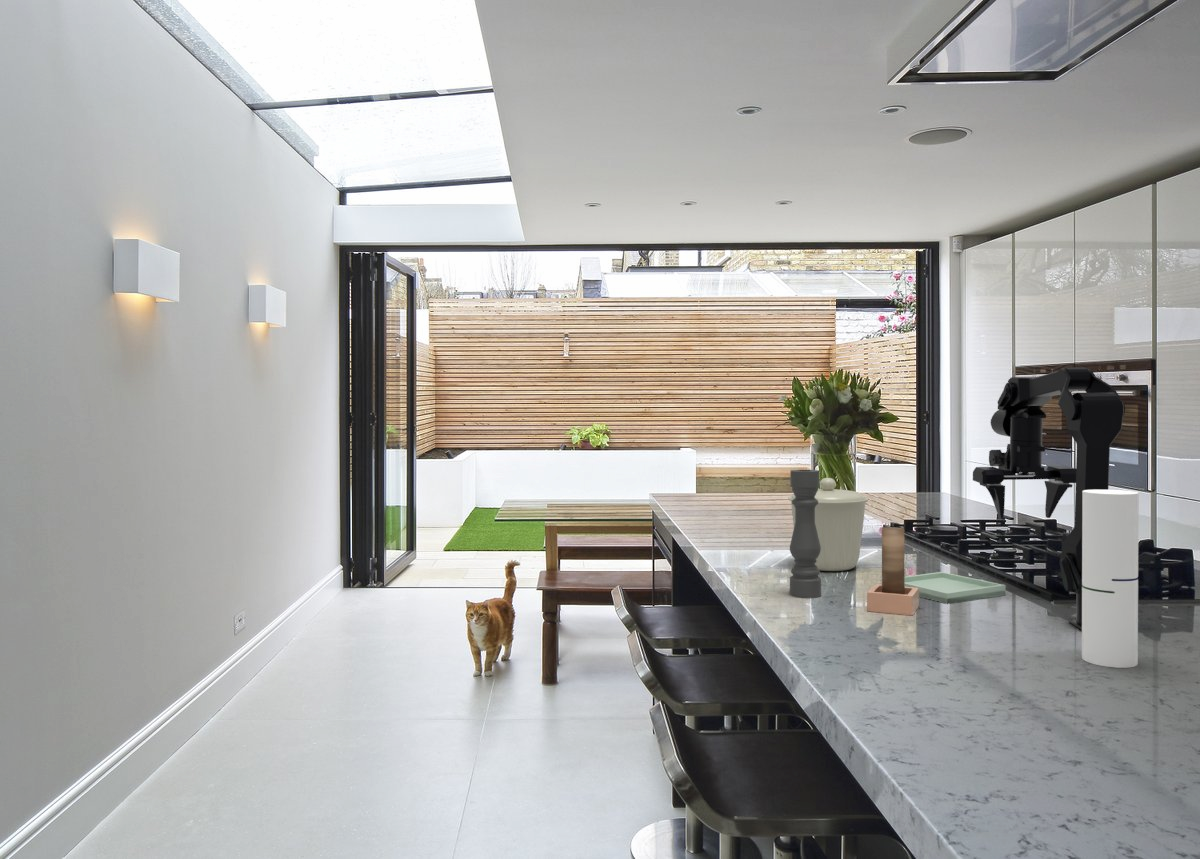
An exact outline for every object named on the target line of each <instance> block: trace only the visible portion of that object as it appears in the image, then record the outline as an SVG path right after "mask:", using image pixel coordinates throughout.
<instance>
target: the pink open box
mask: <svg viewBox="0 0 1200 859" xmlns="http://www.w3.org/2000/svg"><path fill="white" fill-rule="evenodd" d="M919 607H920V597H919V588H914V587H905V594H894V593H882V584H874V585H873V586H872V587H870V589H869V590H868V591H867V592H866V611H867V612H871V613H880V614H881V613H882V614H883V613H884V614H892V615H902V616H903V615H904V616H913V615H915V612H916V611H917V610H918V609H919Z"/></svg>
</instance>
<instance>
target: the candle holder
mask: <svg viewBox="0 0 1200 859" xmlns="http://www.w3.org/2000/svg"><path fill="white" fill-rule="evenodd" d="M790 487H791V491H792V493H793V494H794V495H795V499H793V500H792V504H793V505H794V507H795V526H794V525H793V531H792V536H791V539H790V544H789V552H790V554H791V556H792V557H793V561H794V563H795V564H793V565H794V566H793V567H792V568H791V570H790V573H791V574H792V575H791V576H790V577H789V595H790V596H791V597H796V598H802V599H811V598H812V599H814V598H820V597H822V578H821V577H820V576H819V575H820V572H821V571H820V570H819V569H818V568H817V566H816V565H815V563H816V561H817V560H816V559H817V558H818V556H819V554H820V551H821V546H820V542H819V538H818V533H817V529H816V525H815V507H816V505H817V504H818V500H817V499H815V495H816V493H817V491H818V489H819V488H820V470H819V469H791V470H790Z"/></svg>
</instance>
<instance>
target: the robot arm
mask: <svg viewBox="0 0 1200 859" xmlns="http://www.w3.org/2000/svg"><path fill="white" fill-rule="evenodd" d="M1077 391H1085V392H1077ZM1072 392H1076V393H1073V394H1071V393H1072ZM1054 396H1059V399H1058V402H1057V405H1058V407H1059V408H1060V410H1061V412H1062V413H1063V414H1064V416H1065V418H1066V420H1065V421H1066V430H1067V431H1068V433H1069V434H1070V436H1071V437H1072V438H1073V440H1074V442H1075V443H1076V459H1075V460H1076V462H1075V463H1076V464H1075V466H1076V467H1075V468H1074V467H1071V466H1067V465H1047V467H1046V469H1045V466H1042V465H1043V464H1042V463H1043V462H1042V460H1043V457H1042V456H1043V453H1044V452H1045V451H1046V446H1045V445H1043V419H1046V418H1047V414H1046V413H1045V412H1044V410H1042V408H1043V407H1044V405H1046V404H1048V403H1050V402H1051V401H1052V397H1054ZM1125 412H1126V405H1125V402H1124V400H1123V399H1122V398H1121V396H1120V394H1119V393H1118V391H1117V390H1116V389H1115V388H1114V387H1113V386H1112V385H1111V384H1109V383H1107V382H1105V381H1104V380H1102V379H1101V378H1099V377H1097V376H1096V375H1095V373H1094V371H1093V370H1092V369H1090V368H1087V367H1062V368H1060V369H1058V370H1057V371H1052V372H1050V373H1047V374H1043V375H1039V376H1011V377H1010V378H1009V379H1008V380H1007V382H1006V383H1005V385H1004V387H1003V390H1002V392H1001V394H1000V396H999V398H998V400H997V411H995V412H994V413H993V415H992V416H991V418H990V426H991V429H992V430H993V432H994V433H996V434H997V435H998V436H999V435H1000V436H1005V437H1008V438H1009V443H1007V445H1006V451H1005V452H1002V449H991V450H989V451H988V462H989V466H976V467H975V468H974V469H973V471H972V481H974V482H977V483H979V485H980V486H983V487H984V488H986V489H987V491H988V493H989V495H990V497H991V499H992V501H993V504H994V507H995V510H996V513H997V516H998V519H1004V515H1005V499H1006V498H1005V497H1006V485H1004V484H1002V482H1003V481H1005V480H1006V481H1007V480H1009V481H1012V480H1015V481H1016V480H1019V481H1020V480H1021V481H1022V480H1044V485H1045V487H1046V488H1045V489H1046V497H1045V506H1044V507H1045V508H1044V509H1045V510H1044V511H1045V513H1044V514H1045V518H1047V519H1050V518H1051V517H1052V515H1053V513H1054V511H1055V510H1056V507H1057V505H1058V504H1059V501H1060V500H1061V499H1062V497H1063V496H1064V494H1065V493H1066V492H1067V490H1068V488H1073V484H1075V493H1074V494H1075V500H1074V501H1075V502H1074V525H1073V526H1074V527H1073V529H1072V530H1071V531H1070V533H1068V534H1063V536H1062V538H1061V553H1060V558H1059V567H1060V574H1061V579H1062V580H1061V581H1062V584H1063V588H1064V589H1065V591H1066V592H1069V593H1073V594H1074V593H1075V594H1076V598H1075V599H1076V604H1075V606H1076V616H1075V617H1076V618H1069V619H1068V623H1070V624H1072V625H1074V626H1075V627H1076V628H1078V629H1079V630H1081V631H1082V586H1083V585H1082V491H1083V490H1109V488H1110V487H1109V484H1110V483H1109V482H1110V457H1111V456H1110V453H1111V452H1110V450H1111V445H1112V444H1113V442H1114V441H1115V439H1116V438H1117V436H1118V435H1119V434H1120V432H1121V431H1122V427H1123V420H1124V417H1125V416H1124V415H1125Z"/></svg>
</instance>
